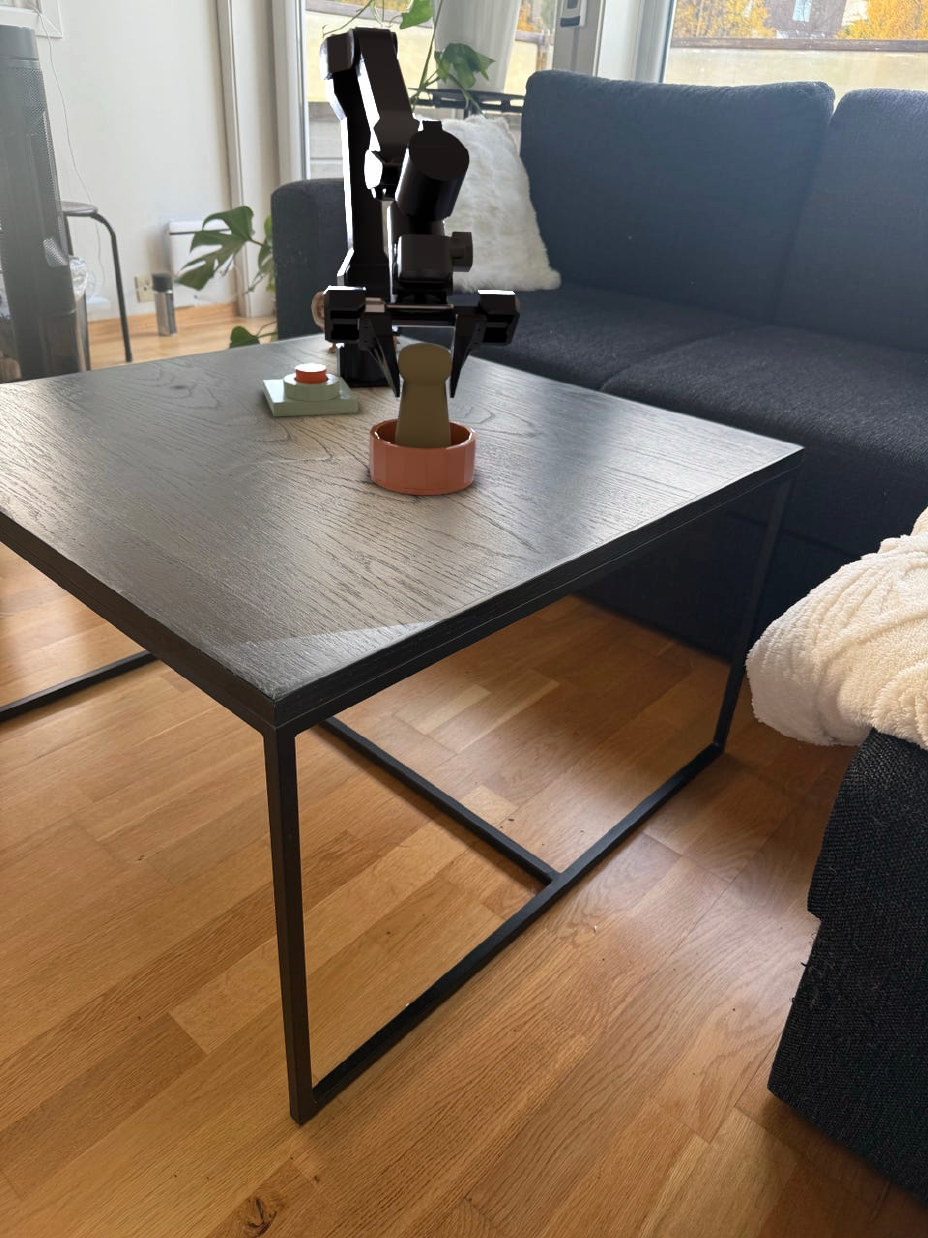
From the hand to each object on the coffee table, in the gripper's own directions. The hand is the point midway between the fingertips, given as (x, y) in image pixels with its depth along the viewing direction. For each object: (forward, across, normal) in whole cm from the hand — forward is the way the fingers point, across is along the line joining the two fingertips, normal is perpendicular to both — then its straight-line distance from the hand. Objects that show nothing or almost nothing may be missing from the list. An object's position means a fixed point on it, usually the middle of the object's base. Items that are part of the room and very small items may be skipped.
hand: (425, 395), depth 84 cm
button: (-13, -11, +21) cm, 28 cm away
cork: (+4, 0, +6) cm, 7 cm away
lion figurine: (-31, -5, +44) cm, 54 cm away
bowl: (+5, 0, +7) cm, 9 cm away
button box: (-12, -12, +25) cm, 30 cm away
